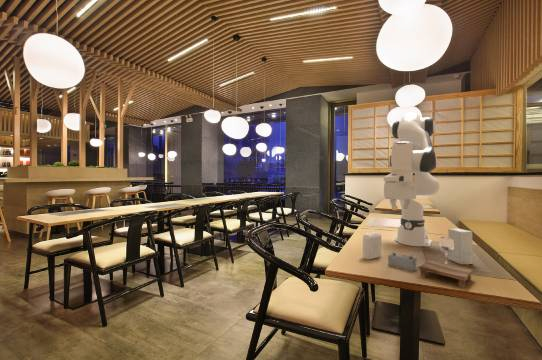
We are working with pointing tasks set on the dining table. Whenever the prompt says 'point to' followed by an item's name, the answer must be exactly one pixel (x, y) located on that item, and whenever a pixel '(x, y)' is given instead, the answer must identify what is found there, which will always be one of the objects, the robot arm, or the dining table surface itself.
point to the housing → (402, 261)
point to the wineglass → (446, 245)
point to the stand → (446, 271)
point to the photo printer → (371, 245)
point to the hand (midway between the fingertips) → (400, 209)
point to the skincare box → (461, 246)
